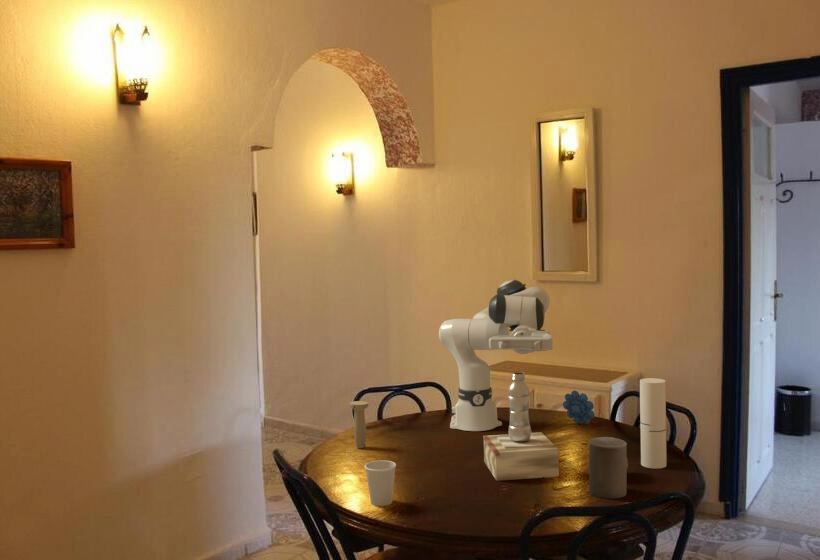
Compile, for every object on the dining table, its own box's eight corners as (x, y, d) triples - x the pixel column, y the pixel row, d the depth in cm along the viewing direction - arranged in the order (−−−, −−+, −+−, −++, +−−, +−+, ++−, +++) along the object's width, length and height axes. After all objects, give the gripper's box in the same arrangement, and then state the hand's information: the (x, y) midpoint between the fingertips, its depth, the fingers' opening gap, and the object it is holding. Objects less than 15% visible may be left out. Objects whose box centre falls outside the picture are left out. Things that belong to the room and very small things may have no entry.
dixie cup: (361, 499, 201) (360, 462, 201) (391, 494, 204) (389, 458, 204) (371, 510, 194) (370, 471, 193) (402, 504, 197) (400, 466, 196)
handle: (363, 450, 246) (361, 405, 245) (348, 448, 250) (346, 403, 249) (372, 447, 250) (371, 402, 249) (357, 444, 254) (356, 400, 253)
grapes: (559, 425, 270) (558, 391, 270) (565, 420, 276) (565, 388, 275) (590, 428, 264) (590, 394, 264) (596, 424, 270) (596, 390, 269)
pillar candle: (586, 496, 198) (586, 440, 197) (591, 484, 207) (591, 430, 206) (625, 500, 194) (625, 443, 193) (628, 488, 203) (628, 433, 202)
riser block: (483, 461, 231) (483, 434, 230) (541, 457, 232) (541, 431, 232) (496, 480, 213) (495, 451, 212) (558, 476, 214) (558, 447, 214)
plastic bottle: (530, 444, 218) (529, 375, 217) (507, 443, 220) (505, 375, 219) (532, 438, 225) (530, 371, 223) (509, 437, 226) (507, 371, 225)
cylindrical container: (648, 459, 227) (647, 377, 226) (670, 464, 222) (669, 380, 221) (636, 465, 222) (635, 381, 221) (659, 470, 217) (658, 384, 216)
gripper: (491, 330, 251) (484, 336, 237) (553, 330, 246) (550, 336, 232) (491, 349, 251) (485, 356, 238) (554, 349, 246) (551, 356, 233)
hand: (518, 346), depth 235 cm, fingers open, 8 cm apart
